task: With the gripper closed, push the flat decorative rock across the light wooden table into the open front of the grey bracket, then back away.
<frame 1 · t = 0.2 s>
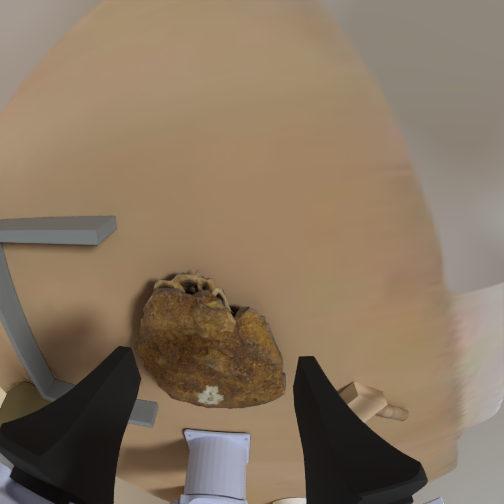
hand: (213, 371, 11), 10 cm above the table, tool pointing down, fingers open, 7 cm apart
squeeze bottle: (37, 393, 29), on the table
cup: (289, 500, 45), on the table
wooden mallet: (372, 402, 28), on the table
grey bracket: (70, 326, 23), on the table
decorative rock: (208, 339, 24), on the table
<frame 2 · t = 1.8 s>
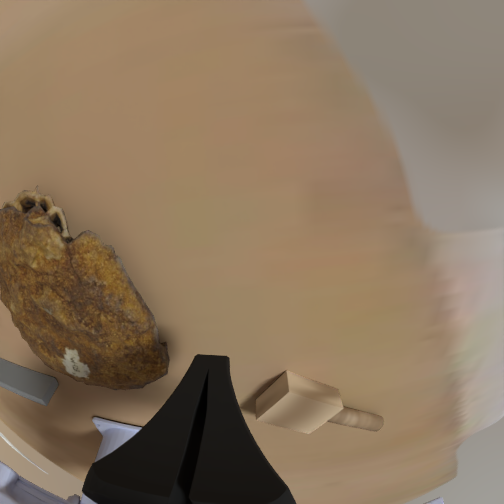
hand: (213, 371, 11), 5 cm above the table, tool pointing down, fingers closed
wooden mallet: (326, 404, 20), on the table
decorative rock: (75, 289, 17), on the table
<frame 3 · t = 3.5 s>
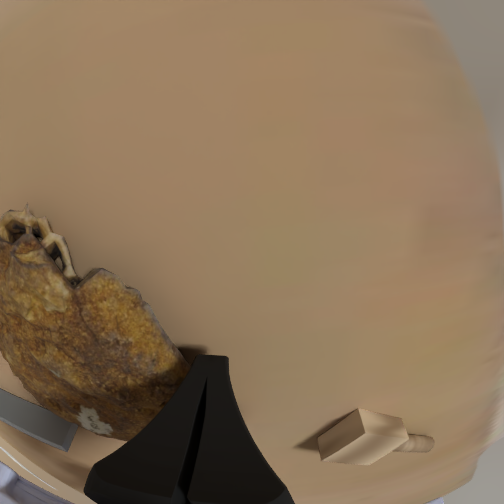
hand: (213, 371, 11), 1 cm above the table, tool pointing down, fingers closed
wooden mallet: (385, 433, 17), on the table
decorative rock: (86, 332, 13), on the table
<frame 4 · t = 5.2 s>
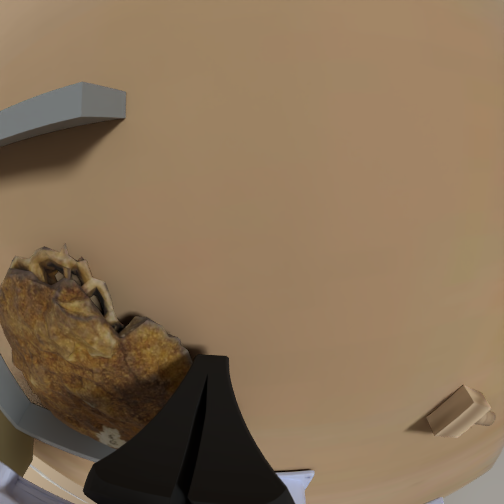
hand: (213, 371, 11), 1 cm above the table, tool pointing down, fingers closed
squeeze bottle: (15, 416, 19), on the table
wooden mallet: (468, 408, 17), on the table
grey bracket: (38, 326, 13), on the table
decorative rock: (110, 358, 14), on the table, touching gripper
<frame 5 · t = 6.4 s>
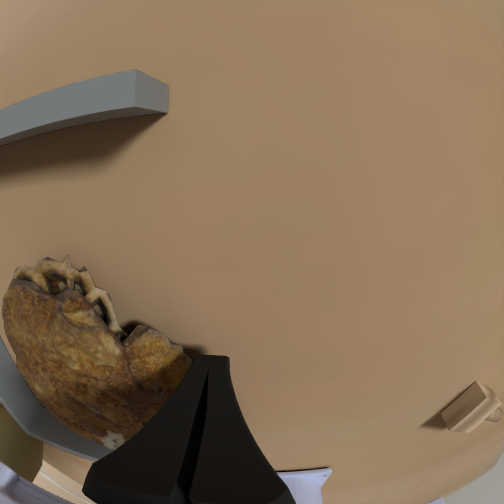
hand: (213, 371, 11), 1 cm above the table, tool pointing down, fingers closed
squeeze bottle: (23, 420, 19), on the table
wooden mallet: (478, 404, 17), on the table
grey bracket: (57, 329, 13), on the table
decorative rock: (113, 364, 14), on the table
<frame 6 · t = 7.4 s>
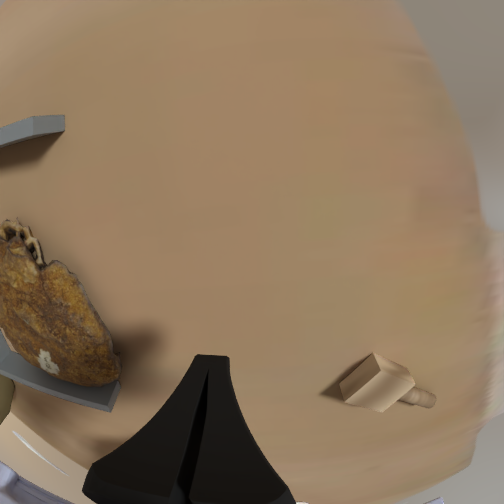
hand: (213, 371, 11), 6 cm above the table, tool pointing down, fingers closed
squeeze bottle: (0, 371, 23), on the table
wooden mallet: (394, 384, 21), on the table
grey bracket: (16, 274, 17), on the table
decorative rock: (50, 300, 18), on the table
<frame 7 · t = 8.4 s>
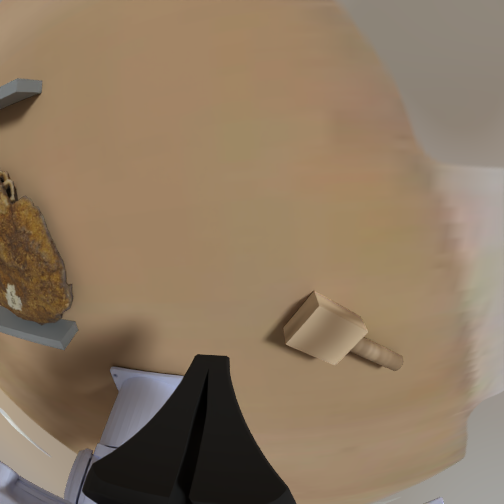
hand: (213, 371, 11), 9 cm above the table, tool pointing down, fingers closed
wooden mallet: (349, 335, 22), on the table
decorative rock: (21, 242, 20), on the table
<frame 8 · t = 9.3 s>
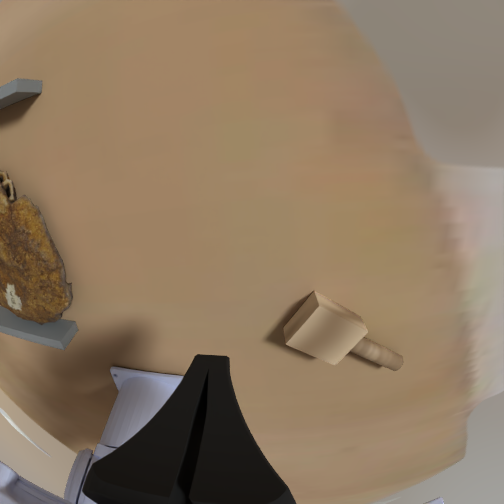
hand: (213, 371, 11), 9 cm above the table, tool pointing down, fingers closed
wooden mallet: (349, 335, 22), on the table
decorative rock: (21, 242, 20), on the table
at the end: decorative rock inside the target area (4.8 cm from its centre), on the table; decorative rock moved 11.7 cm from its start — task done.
